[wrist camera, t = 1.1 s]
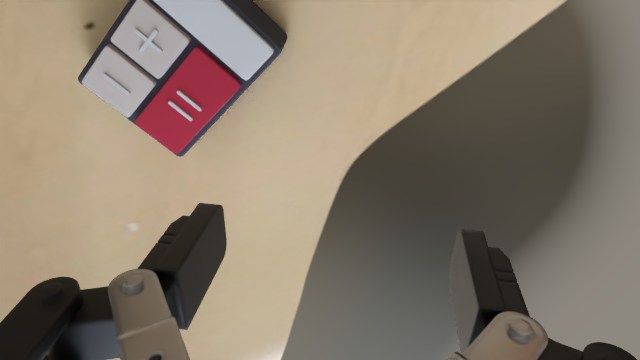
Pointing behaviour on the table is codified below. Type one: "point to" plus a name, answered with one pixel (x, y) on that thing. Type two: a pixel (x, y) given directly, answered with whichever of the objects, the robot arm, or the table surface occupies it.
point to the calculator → (181, 63)
